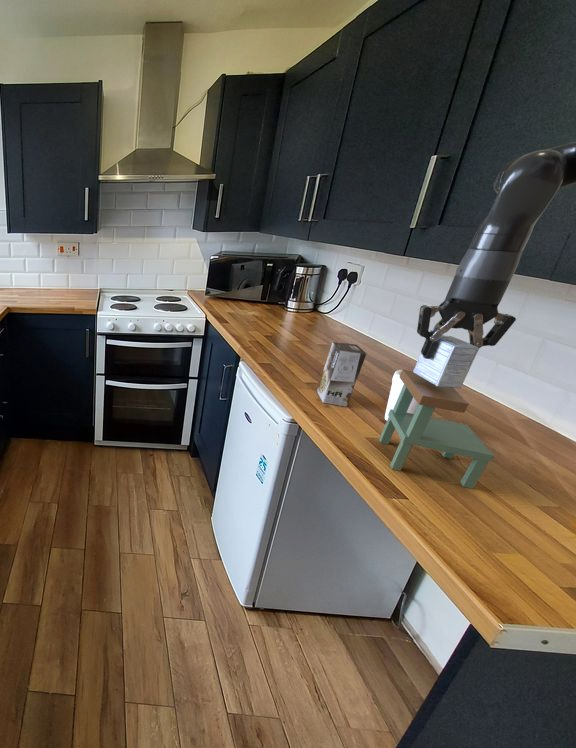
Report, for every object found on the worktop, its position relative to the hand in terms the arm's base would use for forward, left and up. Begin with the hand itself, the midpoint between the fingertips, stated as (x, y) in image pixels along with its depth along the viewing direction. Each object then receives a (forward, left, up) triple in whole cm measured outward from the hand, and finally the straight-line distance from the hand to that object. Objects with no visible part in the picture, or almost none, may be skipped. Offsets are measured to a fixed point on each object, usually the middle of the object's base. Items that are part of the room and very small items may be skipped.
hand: (444, 360), depth 81 cm
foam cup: (-4, -21, -24) cm, 32 cm away
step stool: (-4, 0, -24) cm, 24 cm away
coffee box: (+11, -28, -24) cm, 38 cm away
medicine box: (0, 0, -5) cm, 5 cm away
